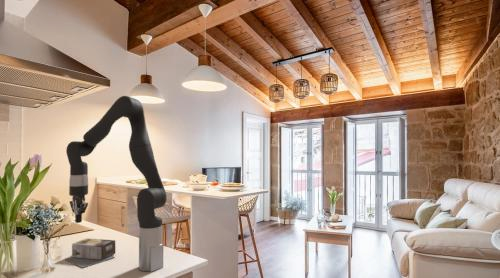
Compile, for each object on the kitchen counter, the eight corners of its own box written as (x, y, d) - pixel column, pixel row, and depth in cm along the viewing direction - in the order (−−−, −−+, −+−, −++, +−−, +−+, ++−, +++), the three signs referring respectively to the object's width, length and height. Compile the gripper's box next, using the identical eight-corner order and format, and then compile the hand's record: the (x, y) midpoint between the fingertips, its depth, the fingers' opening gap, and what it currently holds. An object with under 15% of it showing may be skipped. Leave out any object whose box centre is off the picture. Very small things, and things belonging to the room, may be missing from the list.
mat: (114, 258, 134) (114, 257, 134) (82, 268, 122) (82, 267, 122) (96, 250, 143) (96, 250, 143) (65, 259, 132) (65, 259, 132)
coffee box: (86, 237, 142) (116, 239, 139) (86, 251, 142) (115, 253, 139) (71, 243, 133) (102, 246, 130) (71, 258, 133) (102, 260, 130)
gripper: (94, 184, 135) (94, 222, 135) (80, 182, 143) (79, 219, 142) (77, 186, 129) (76, 226, 129) (63, 184, 137) (62, 222, 136)
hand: (78, 222), depth 135 cm, fingers closed
